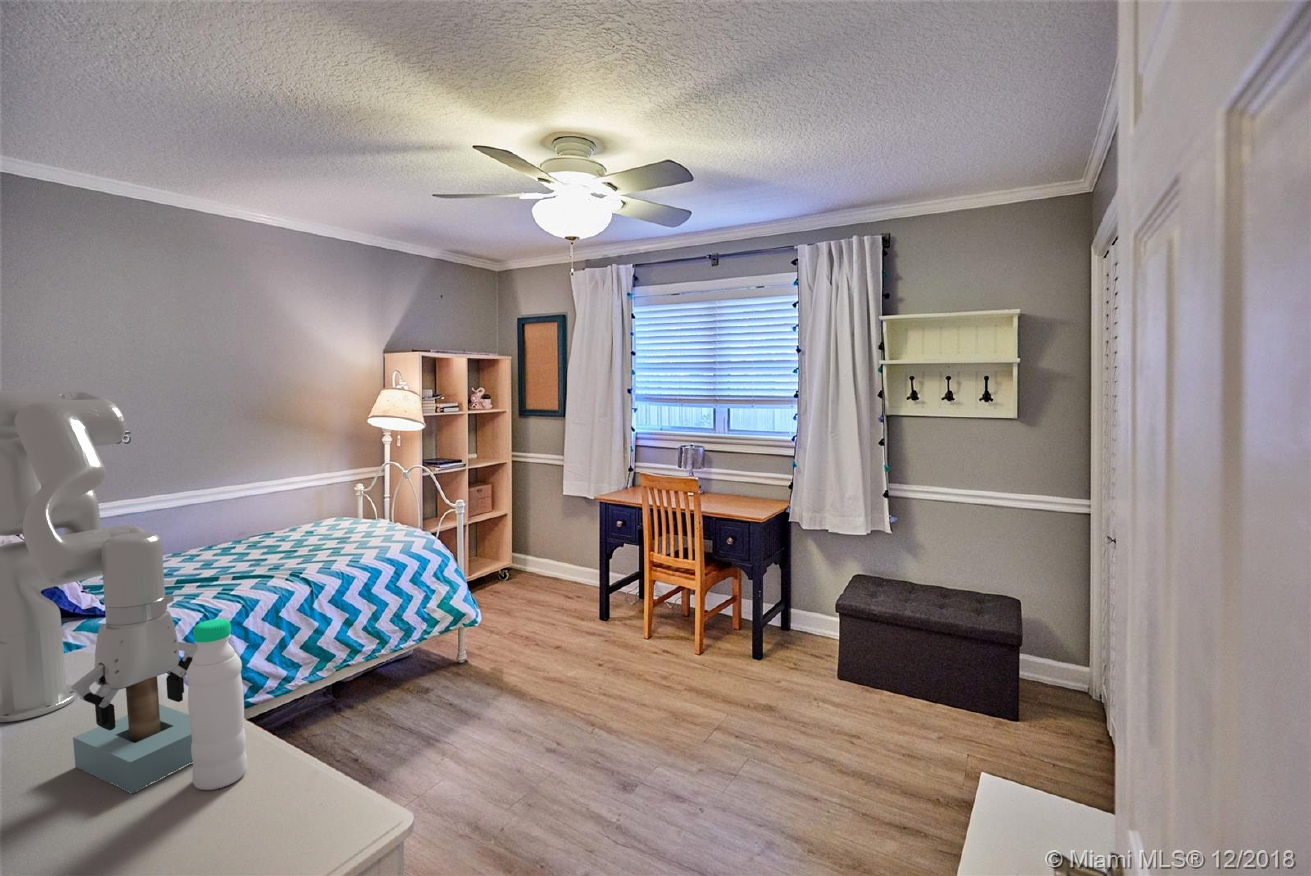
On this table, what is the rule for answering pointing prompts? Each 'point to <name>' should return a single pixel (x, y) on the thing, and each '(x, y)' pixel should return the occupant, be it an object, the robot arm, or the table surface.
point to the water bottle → (216, 708)
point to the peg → (143, 709)
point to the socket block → (135, 751)
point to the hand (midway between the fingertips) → (142, 713)
